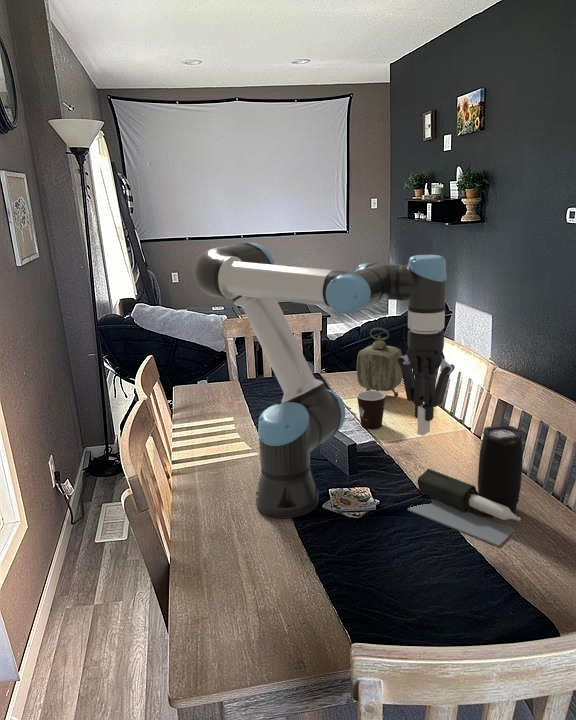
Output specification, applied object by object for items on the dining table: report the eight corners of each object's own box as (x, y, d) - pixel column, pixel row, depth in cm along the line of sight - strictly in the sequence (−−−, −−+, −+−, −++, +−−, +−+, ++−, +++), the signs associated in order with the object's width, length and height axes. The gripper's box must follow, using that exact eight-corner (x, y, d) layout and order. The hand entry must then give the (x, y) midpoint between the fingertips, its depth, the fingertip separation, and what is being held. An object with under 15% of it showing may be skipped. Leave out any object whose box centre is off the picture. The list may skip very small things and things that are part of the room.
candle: (429, 466, 142) (525, 503, 123) (433, 483, 145) (528, 521, 125) (416, 478, 140) (512, 517, 121) (420, 495, 142) (515, 536, 123)
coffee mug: (387, 430, 179) (387, 399, 176) (358, 431, 179) (358, 400, 176) (382, 416, 190) (382, 387, 187) (355, 417, 190) (355, 388, 188)
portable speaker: (469, 510, 134) (472, 431, 129) (493, 496, 140) (497, 419, 134) (502, 525, 128) (507, 443, 122) (526, 510, 133) (532, 430, 127)
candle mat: (499, 547, 120) (499, 545, 120) (407, 510, 135) (407, 508, 135) (514, 531, 125) (514, 529, 125) (424, 497, 140) (424, 496, 140)
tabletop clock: (403, 396, 207) (404, 327, 200) (393, 404, 200) (393, 333, 193) (365, 390, 215) (365, 323, 207) (354, 398, 207) (353, 329, 200)
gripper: (463, 330, 122) (458, 434, 129) (409, 322, 131) (407, 420, 138) (444, 337, 117) (441, 446, 124) (389, 329, 126) (389, 430, 132)
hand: (423, 432), depth 131 cm, fingers closed
